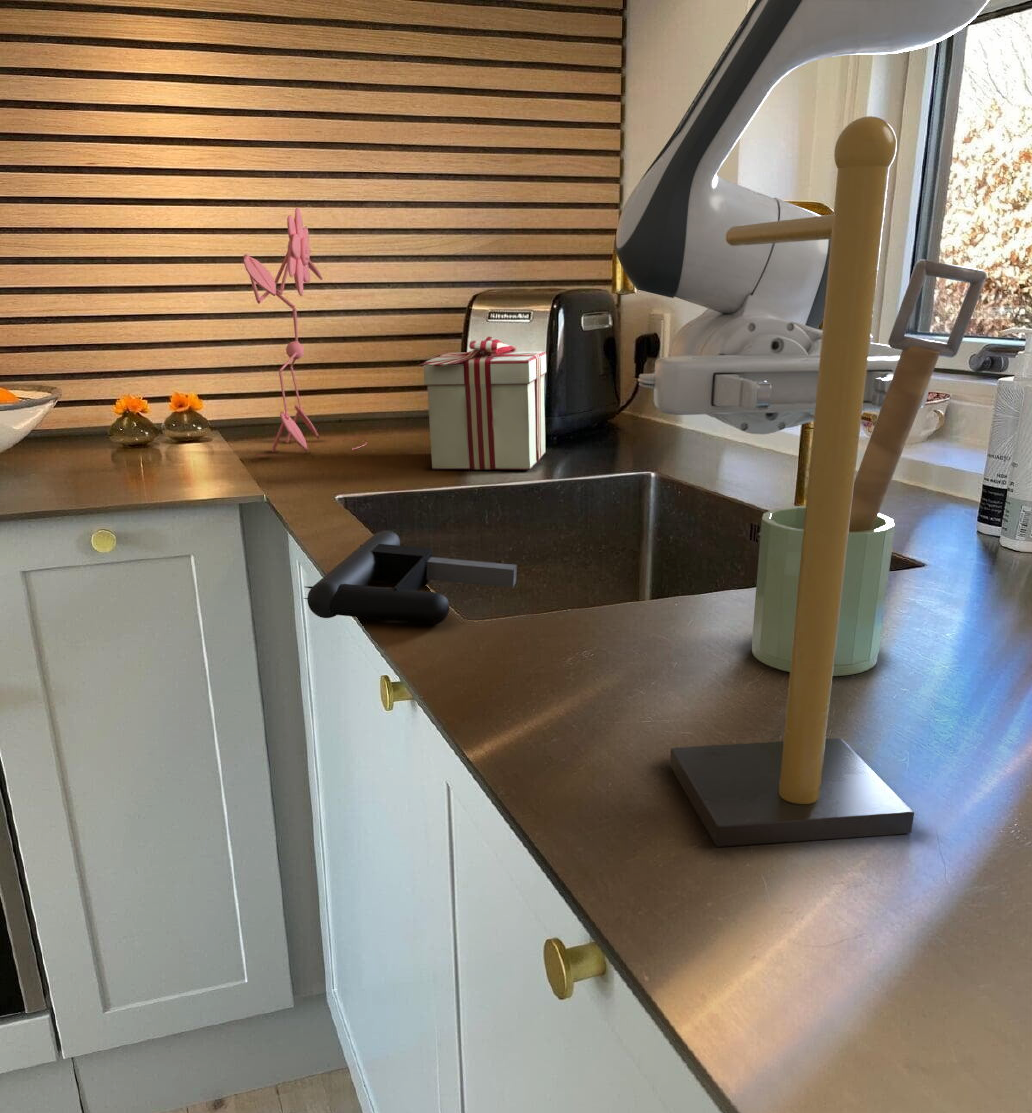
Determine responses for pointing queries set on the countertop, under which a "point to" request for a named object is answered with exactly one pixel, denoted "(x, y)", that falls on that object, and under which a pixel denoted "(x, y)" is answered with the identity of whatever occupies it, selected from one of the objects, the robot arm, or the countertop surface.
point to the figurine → (300, 270)
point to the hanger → (816, 552)
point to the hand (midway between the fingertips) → (828, 395)
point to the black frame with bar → (398, 582)
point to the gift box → (486, 407)
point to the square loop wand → (907, 389)
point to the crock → (857, 601)
